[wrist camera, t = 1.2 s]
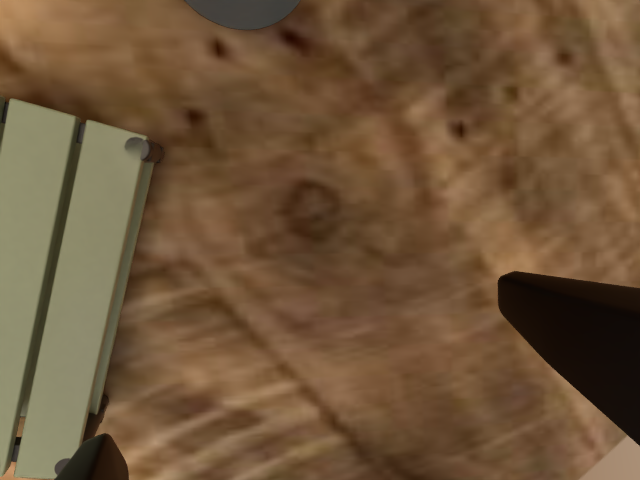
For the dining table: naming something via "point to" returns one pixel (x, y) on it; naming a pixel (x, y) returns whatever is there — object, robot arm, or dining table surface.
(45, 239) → the rack
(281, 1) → the tissue tub
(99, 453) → the robot arm
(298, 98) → the dining table surface
